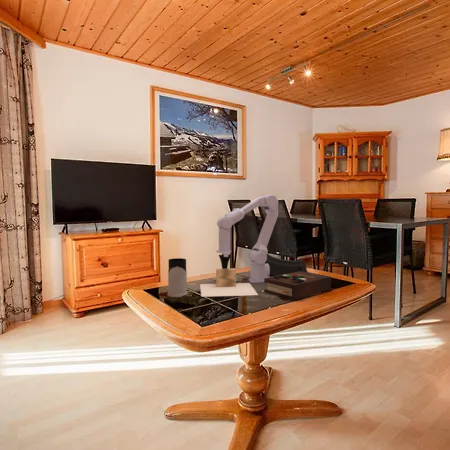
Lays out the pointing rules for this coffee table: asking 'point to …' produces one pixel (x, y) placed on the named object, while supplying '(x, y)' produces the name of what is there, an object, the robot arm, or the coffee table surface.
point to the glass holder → (177, 277)
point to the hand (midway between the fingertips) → (224, 269)
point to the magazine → (284, 266)
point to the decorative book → (297, 285)
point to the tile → (226, 277)
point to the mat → (227, 290)
